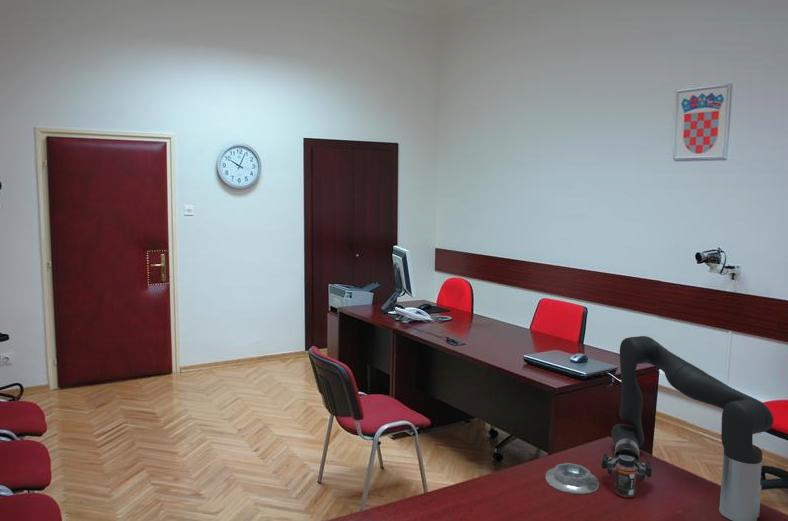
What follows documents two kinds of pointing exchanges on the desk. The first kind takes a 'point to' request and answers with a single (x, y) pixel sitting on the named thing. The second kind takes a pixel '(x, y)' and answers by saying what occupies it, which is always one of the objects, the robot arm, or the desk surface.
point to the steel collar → (572, 479)
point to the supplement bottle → (625, 477)
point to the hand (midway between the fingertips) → (626, 475)
